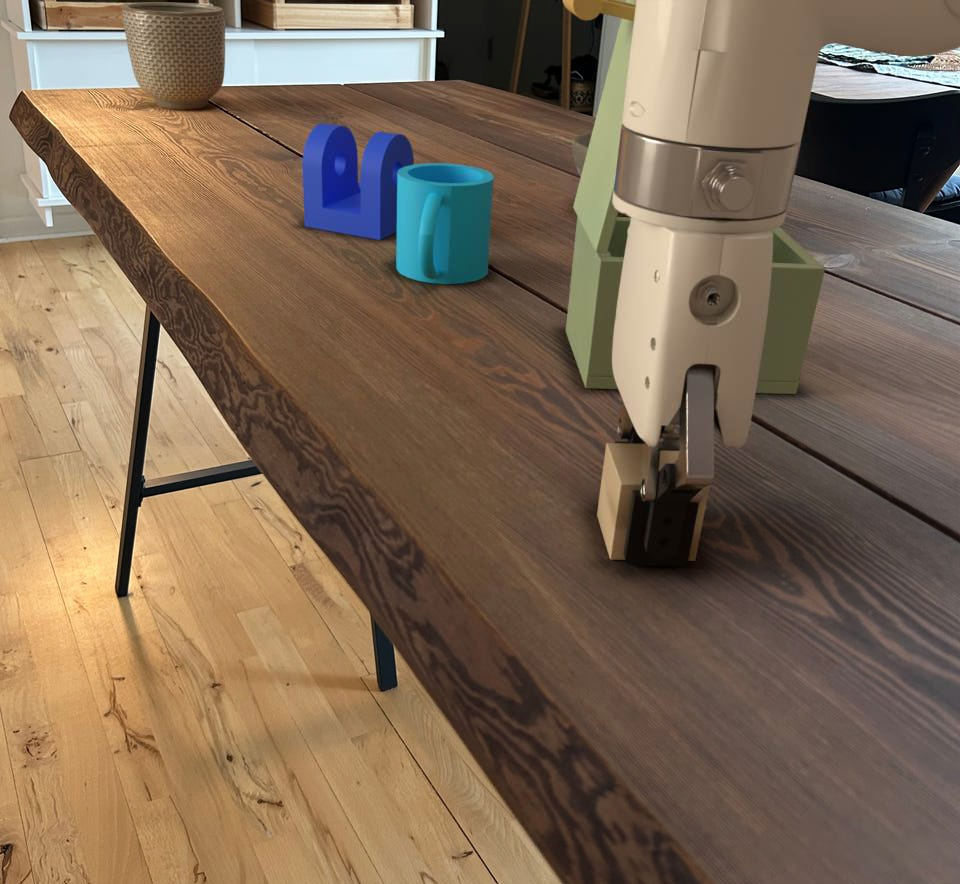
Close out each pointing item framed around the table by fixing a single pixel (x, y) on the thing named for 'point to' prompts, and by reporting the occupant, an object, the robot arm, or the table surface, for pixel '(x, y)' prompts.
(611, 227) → the chest lid
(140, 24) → the planter
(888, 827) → the table surface
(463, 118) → the table surface
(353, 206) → the bracket
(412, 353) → the table surface
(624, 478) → the block
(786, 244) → the chest
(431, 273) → the mug
